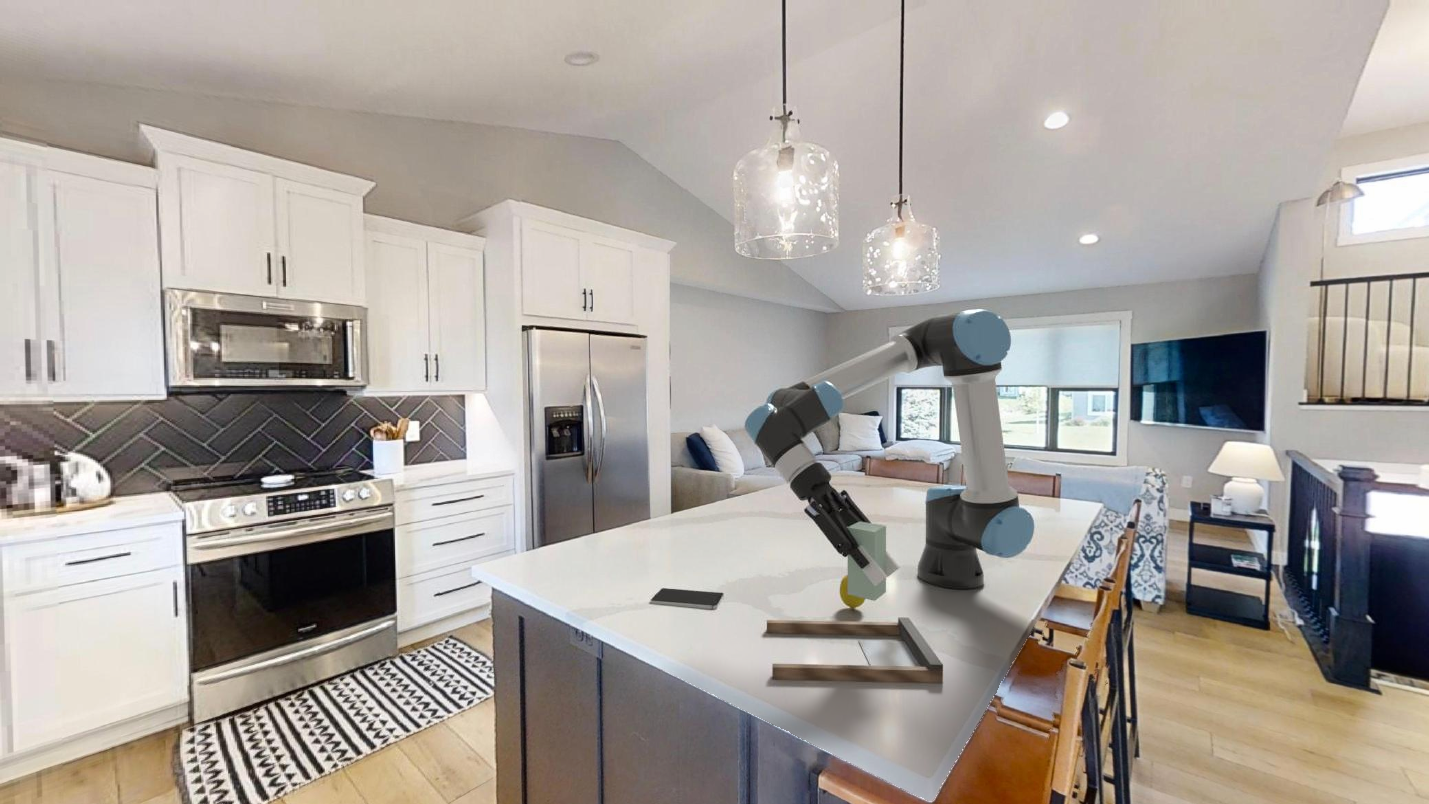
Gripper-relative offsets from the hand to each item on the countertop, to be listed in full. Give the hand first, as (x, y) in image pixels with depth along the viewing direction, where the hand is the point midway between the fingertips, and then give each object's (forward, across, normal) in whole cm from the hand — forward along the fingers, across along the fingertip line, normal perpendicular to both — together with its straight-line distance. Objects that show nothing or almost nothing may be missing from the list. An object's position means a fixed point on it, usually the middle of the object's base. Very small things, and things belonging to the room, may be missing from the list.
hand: (887, 576), depth 98 cm
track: (+6, +2, -15) cm, 17 cm away
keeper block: (0, 0, -5) cm, 5 cm away
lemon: (+1, -17, -21) cm, 27 cm away
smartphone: (-21, +1, -43) cm, 48 cm away
